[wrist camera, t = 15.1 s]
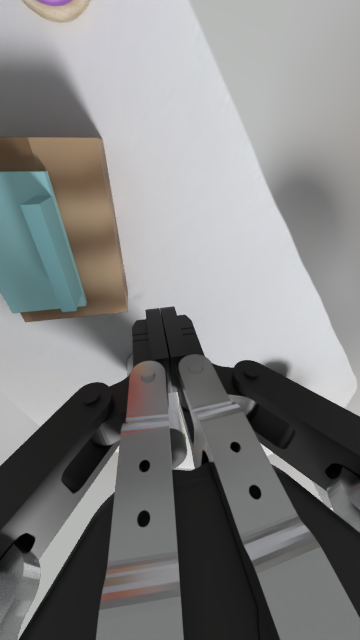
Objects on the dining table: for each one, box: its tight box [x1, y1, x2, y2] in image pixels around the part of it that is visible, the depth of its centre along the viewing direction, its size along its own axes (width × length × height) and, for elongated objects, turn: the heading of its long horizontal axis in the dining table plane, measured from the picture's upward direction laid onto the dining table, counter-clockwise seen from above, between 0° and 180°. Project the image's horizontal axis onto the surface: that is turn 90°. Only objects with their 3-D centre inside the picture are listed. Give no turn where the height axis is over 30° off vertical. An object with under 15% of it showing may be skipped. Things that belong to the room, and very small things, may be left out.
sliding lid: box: [0, 171, 87, 313], centre depth 24 cm, size 15×9×5 cm, turn 0°
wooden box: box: [0, 137, 128, 322], centre depth 28 cm, size 20×14×6 cm
